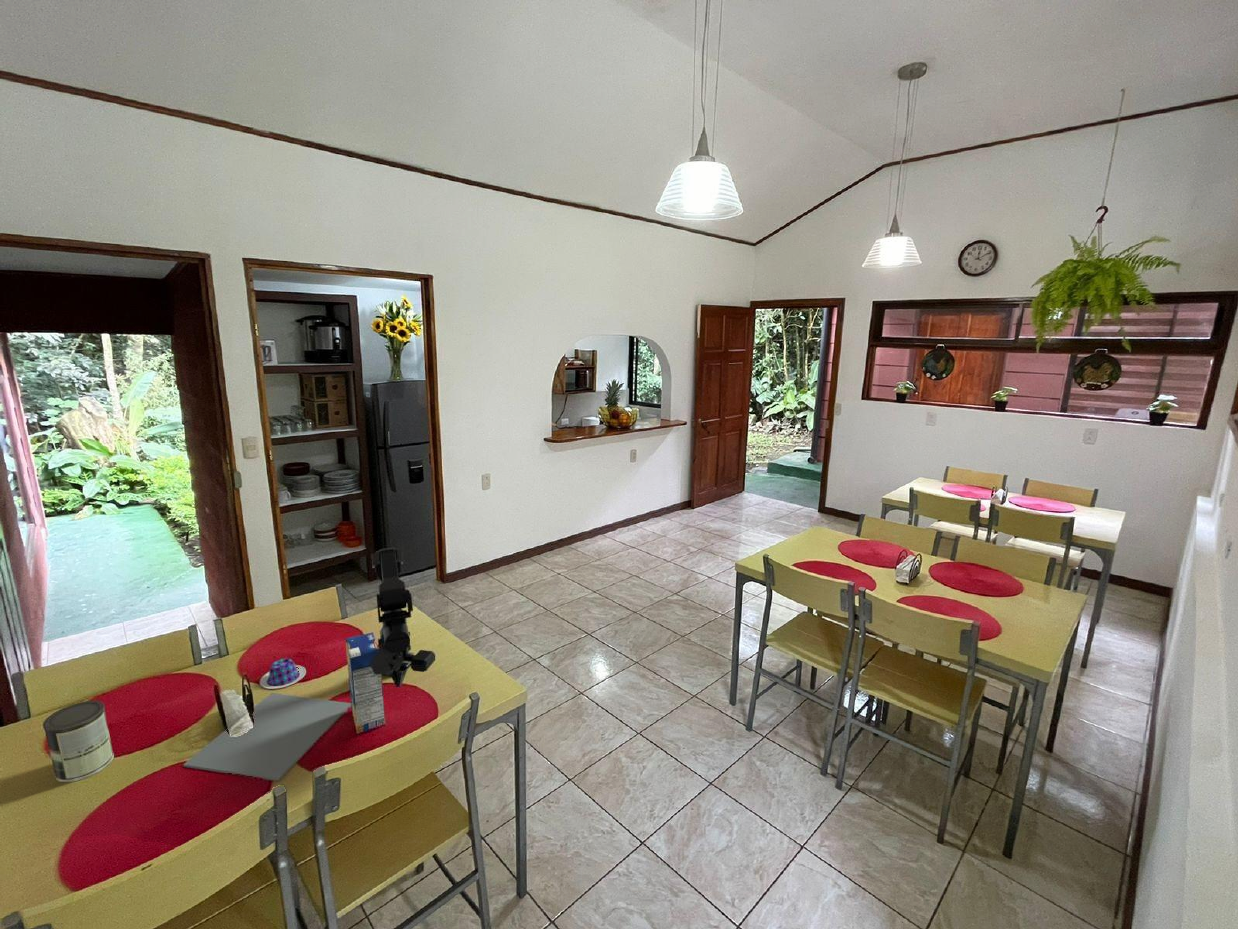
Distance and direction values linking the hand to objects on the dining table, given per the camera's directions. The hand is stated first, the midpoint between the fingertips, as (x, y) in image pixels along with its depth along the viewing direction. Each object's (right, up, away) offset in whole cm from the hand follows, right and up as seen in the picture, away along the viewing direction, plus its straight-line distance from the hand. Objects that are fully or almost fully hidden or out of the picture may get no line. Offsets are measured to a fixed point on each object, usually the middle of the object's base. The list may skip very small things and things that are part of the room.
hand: (399, 686), depth 148 cm
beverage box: (-10, -10, +4) cm, 15 cm away
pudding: (-43, -6, +20) cm, 48 cm away
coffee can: (-68, -13, -15) cm, 71 cm away
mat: (-31, -11, -3) cm, 33 cm away
